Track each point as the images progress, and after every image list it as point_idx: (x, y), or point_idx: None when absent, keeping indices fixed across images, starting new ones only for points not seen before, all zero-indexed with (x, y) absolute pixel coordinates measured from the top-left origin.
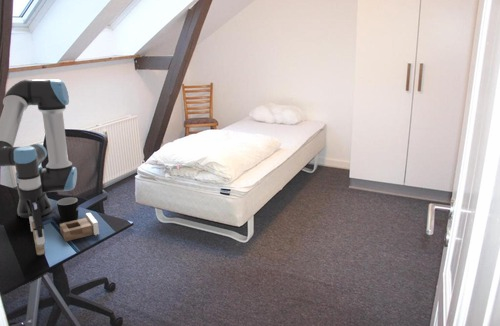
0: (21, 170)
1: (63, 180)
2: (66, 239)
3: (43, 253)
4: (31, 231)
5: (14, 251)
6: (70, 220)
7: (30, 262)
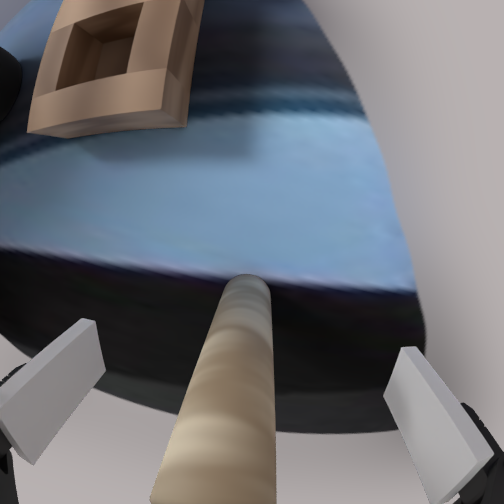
0: None
1: None
2: (183, 117)
3: (268, 288)
4: (104, 370)
5: (150, 381)
6: (12, 83)
7: (315, 358)
